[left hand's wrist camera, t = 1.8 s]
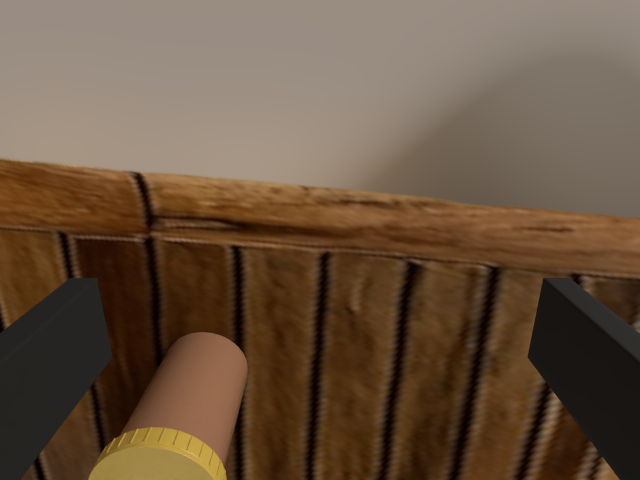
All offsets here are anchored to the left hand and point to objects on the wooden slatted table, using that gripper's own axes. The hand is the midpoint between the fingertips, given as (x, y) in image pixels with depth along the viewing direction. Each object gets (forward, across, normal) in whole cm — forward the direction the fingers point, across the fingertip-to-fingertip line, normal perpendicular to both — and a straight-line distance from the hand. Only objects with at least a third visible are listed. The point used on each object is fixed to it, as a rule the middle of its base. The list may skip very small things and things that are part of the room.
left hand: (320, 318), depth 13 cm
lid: (+13, +12, +23) cm, 29 cm away
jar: (+28, +12, +23) cm, 38 cm away
